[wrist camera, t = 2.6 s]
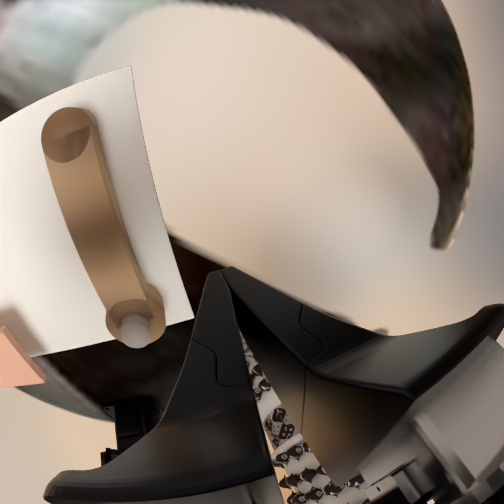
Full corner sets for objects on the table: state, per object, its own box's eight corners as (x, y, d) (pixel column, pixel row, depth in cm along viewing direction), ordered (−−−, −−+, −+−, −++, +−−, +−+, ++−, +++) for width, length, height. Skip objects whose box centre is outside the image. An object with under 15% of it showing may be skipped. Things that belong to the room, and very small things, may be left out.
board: (193, 314, 22) (194, 317, 22) (-1, 359, 17) (-2, 362, 17) (131, 66, 12) (130, 65, 12) (-87, 196, 7) (-90, 197, 7)
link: (171, 319, 21) (176, 350, 18) (121, 332, 20) (120, 364, 17) (104, 96, 12) (90, 92, 9) (39, 122, 11) (15, 127, 8)
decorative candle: (203, 352, 25) (307, 602, 4) (272, 286, 23) (451, 553, 3) (263, 375, 30) (362, 559, 9) (323, 323, 28) (459, 508, 8)
